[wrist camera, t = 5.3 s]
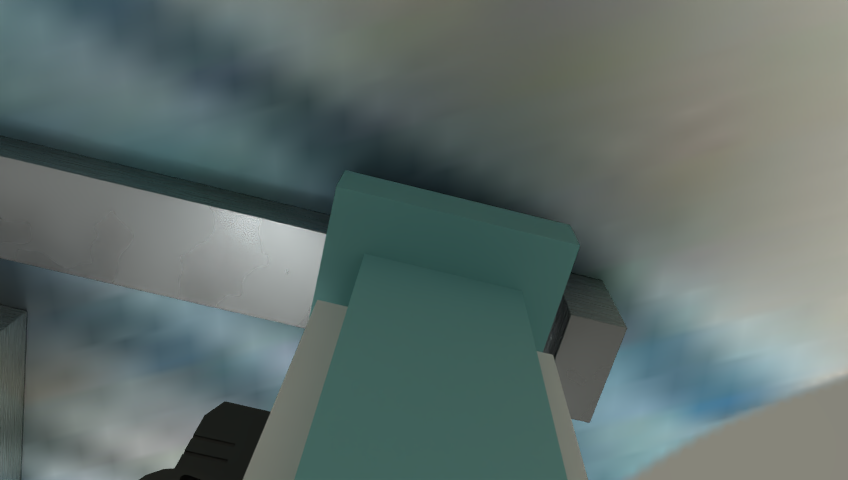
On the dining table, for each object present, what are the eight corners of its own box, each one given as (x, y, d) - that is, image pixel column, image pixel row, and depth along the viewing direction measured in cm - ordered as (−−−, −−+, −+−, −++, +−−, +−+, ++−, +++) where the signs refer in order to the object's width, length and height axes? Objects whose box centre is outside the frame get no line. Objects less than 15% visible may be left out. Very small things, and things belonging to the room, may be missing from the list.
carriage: (353, 155, 19) (75, 657, 5) (560, 206, 19) (868, 816, 5) (308, 366, 21) (38, 1108, 7) (492, 408, 22) (576, 1197, 8)
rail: (-218, 83, 19) (-332, 101, 16) (602, 280, 20) (626, 328, 18) (-208, 183, 20) (-314, 216, 17) (571, 365, 21) (589, 422, 19)
